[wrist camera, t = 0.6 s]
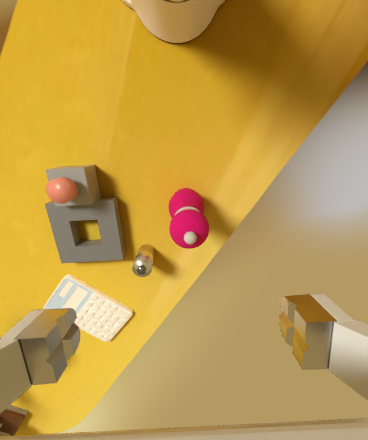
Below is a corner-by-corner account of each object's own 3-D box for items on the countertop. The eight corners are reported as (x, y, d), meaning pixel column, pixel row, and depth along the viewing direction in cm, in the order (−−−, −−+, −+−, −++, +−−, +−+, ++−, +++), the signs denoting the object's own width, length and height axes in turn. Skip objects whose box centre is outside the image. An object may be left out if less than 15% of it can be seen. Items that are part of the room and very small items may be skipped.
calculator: (109, 338, 61) (107, 344, 59) (44, 305, 56) (40, 310, 55) (135, 309, 57) (134, 314, 56) (68, 271, 53) (64, 275, 51)
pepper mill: (206, 191, 46) (225, 223, 27) (196, 220, 49) (207, 269, 30) (174, 181, 45) (171, 208, 27) (166, 212, 48) (157, 257, 29)
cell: (137, 245, 50) (130, 263, 43) (154, 244, 50) (150, 261, 43) (139, 259, 52) (132, 279, 44) (155, 259, 52) (152, 278, 44)
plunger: (49, 177, 38) (43, 179, 36) (74, 176, 38) (69, 178, 36) (56, 201, 39) (49, 204, 37) (79, 200, 39) (74, 203, 37)
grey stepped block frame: (44, 167, 44) (26, 170, 39) (111, 164, 44) (102, 166, 39) (68, 256, 51) (55, 269, 46) (126, 253, 51) (120, 265, 46)
